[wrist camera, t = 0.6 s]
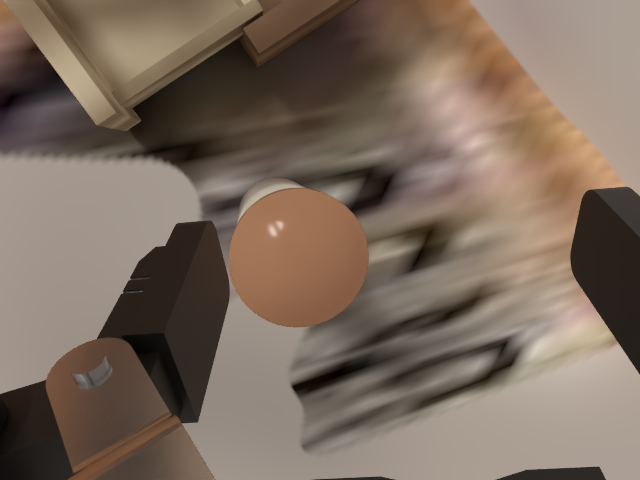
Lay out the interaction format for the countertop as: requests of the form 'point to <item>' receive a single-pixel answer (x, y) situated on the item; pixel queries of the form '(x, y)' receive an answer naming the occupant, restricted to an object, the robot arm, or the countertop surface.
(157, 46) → the wooden drawer
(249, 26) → the box
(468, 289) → the countertop surface
